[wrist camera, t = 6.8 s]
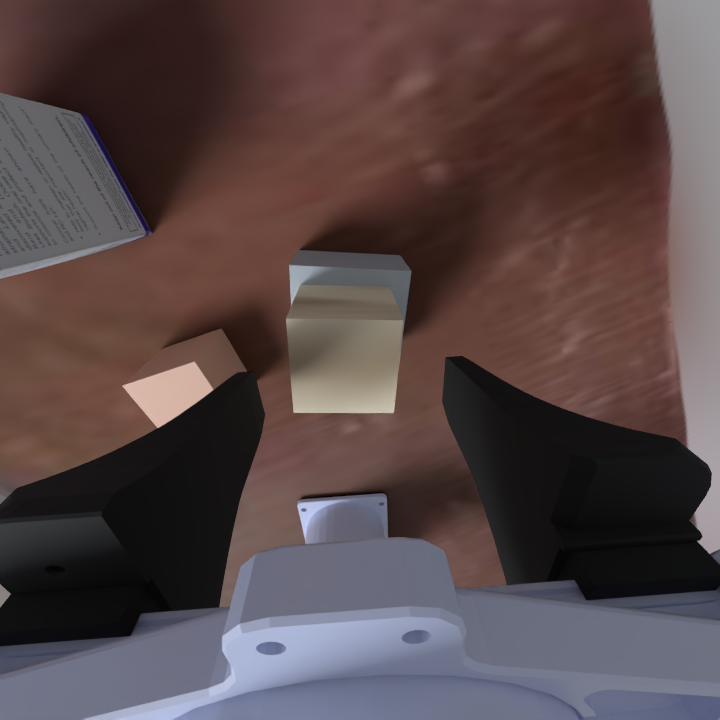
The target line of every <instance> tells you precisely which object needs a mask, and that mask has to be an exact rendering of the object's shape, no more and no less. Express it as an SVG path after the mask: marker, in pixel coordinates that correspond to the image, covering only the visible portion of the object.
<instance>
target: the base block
mask: <svg viewBox="0 0 720 720" xmlns="http://www.w3.org/2000/svg"><path fill="white" fill-rule="evenodd" d="M289 267H290V289H291V305H292V303H293V301H294V298H295V296H296V294H297V291H298V289H299V286H300V285H341V286H389V287H390V288H391V291H392V293H393V296H394V298H395V301H396V303H397V306H398V308H399V311H400V313H401V316H402V318H403V329H402V339H403V331H404V324H405V316H406V309H407V301H408V294H409V286H410V279H411V270H410V268H409V267H408V265H407V264H406V263H405V261H404V260H403V258H402V257H401V255H386V254H366V253H347V252H327V251H308V250H299V251H298V252H297V254H296V255H295V257H294V259H293V260H292V262H291V263H290V265H289ZM402 339H401V346H402ZM400 354H401V348H400ZM399 361H400V358H399ZM398 369H399V368H398Z"/></svg>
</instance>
